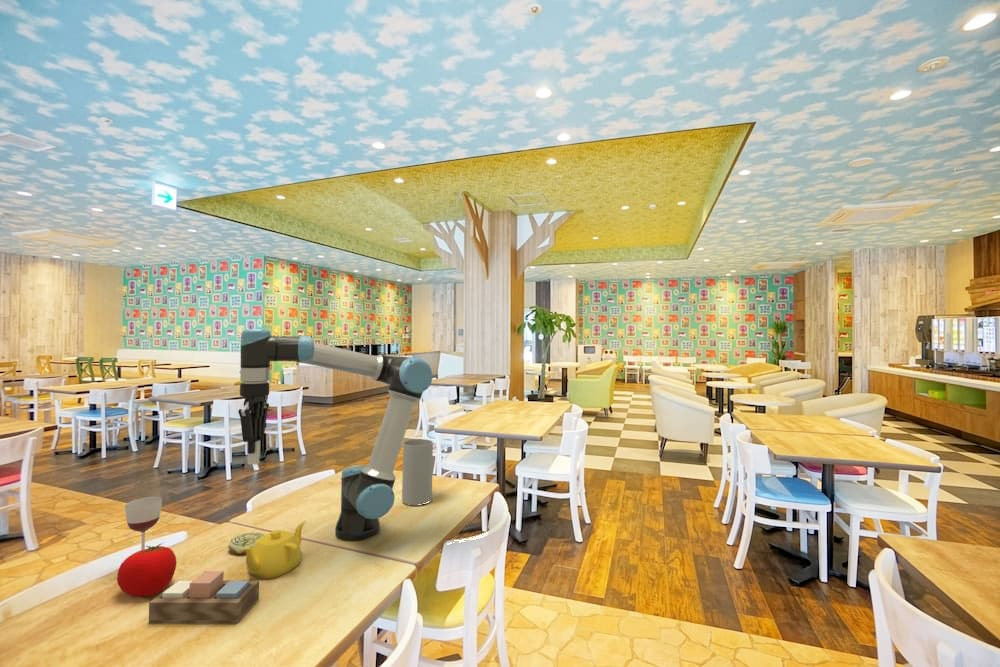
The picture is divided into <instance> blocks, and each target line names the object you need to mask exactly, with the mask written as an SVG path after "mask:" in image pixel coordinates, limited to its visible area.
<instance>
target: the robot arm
mask: <svg viewBox="0 0 1000 667" xmlns="http://www.w3.org/2000/svg"><path fill="white" fill-rule="evenodd" d="M271 362H295V363H300V364H307V365H311V366H315V367H316V366H317V367H321V368H325V369H329V370H330V369H332V370H336V371H340V372H346V373H349V374H355V375H359V376H360V375H361V376H366V377H370V378H371V379H372V380H373V381H376V382H380V383H383V384H386V385H388V389H387V392H388V394H389V396H390V398H389V400H388V403H387V407H386V410H385V413H384V416H383V419H382V422H381V424H380V428H379V431H378V433H377V437H376V439H375V443H374V446H373V448H372V452H371V454H370V458H369V462H368V465H367V464H366V465H356V466H355V465H354V466H350V467H346V468H344V469H343V470H342V472H341V477H340V480H341V481H340V482H341V483H340V484H341V488H340V489H341V490H340V491H341V494H340V496H341V497H340V502H341V503H340V513H339V516H338V519H337V523H336V525H335V529H334V530H335V532H334V534H335V537H336V538H337V539H339V540H342V541H346V542H347V541H348V542H356V541H363V540H367V539H370V538H373V537H374V536H375V535H377V534H378V533H380V530H381V526H380V525H381V523H380V520H379V519H380V518H382V517H384V516H385V515H387V514H388V513H389V512H390V511H391V509H392V508H393V505H394V502H395V493H394V484H395V481H396V476H395V474H394V469H395V467H396V464H397V460H398V456H399V453H400V451H401V448H402V446H403V442H404V438H405V435H406V431H407V428H408V425H409V423H410V419H411V417H412V413H413V409H414V406H415V404H416V403H418V402H420V401H421V400H422V396H423V393H424V392H425V391H426V390H428V388H429V387H431V384H432V382H433V371H432V368H431V366H430V364H428V362H426V361H425V360H423V359H421V358H419V357H414V356H411V357H410V356H392V355H384V354H378V355H373V354H372V355H371V354H367V353H362V352H358V351H353V350H350V349H344V348H341V347H336V346H331V345H327V344H322V343H317V342H315V341H314V339H313V338H312V337H311V336H303V335H301V336H297V335H295V336H290V335H289V336H288V335H283V336H282V335H281V336H275V335H272V334H271V330H270V329H261V328H259V329H258V328H255V329H254V328H245V329H244V330H242V332H241V337H240V370H239V374H240V378H239V380H240V382H242V383H240V385H239V395H240V397H243V398H244V402H243V408H239V409H238V415H239V418H240V420H239V421H240V426H241V436H242V442H244V443H247V453H246V454H247V457H246V458H247V459H246V461H247V462H246V463H247V464H246V465H259V464H260V454H261V453H260V449H261V448H260V447H261V444H260V443H261V441H263V440H264V439H265V438H264V437H265V432H266V425H267V424H266V423H267V417H268V411H269V407H270V403H267V402H265V401H266V399H265V397H266V396H269V395H270V383H269V381H270V380H271V379H270V378H271V376H270V374H271V373H270V372H271V367H270V365H271Z"/></svg>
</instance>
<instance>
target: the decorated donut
mask: <svg viewBox="0 0 1000 667" xmlns="http://www.w3.org/2000/svg"><path fill="white" fill-rule="evenodd" d="M264 535H265V534H263V533H260V532H247V533H243V534H239V535H237V536H235V537H232V538H231V539H230V540H229V542H228V549H229V551H230V552H231V554H234V555H243V556H244V555H245V556H246V552H245V551H244V550H241V549H242V548H246V547H249V548H251V549H252V547H253V544H254V542H255V541H256V540H257V539H258V538H260V537H262V536H264Z"/></svg>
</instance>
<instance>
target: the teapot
mask: <svg viewBox="0 0 1000 667" xmlns="http://www.w3.org/2000/svg"><path fill="white" fill-rule="evenodd" d="M306 522H307V520H303V521H301V522H300V523H299V524H297V526H296V529H295V532H294V533H293V532H290V531H286V530H282V529H281V530H278V529H276V530H273V531H270V532H269V533H266V534H263V535H264V536H262V537H260V538H258V539H257V540H256V541H255V542H254V544H253V547H252V549H251V548H249V547H246V548H242V549H241V550H244V551H245V552H246V555H245V558H246V559H245V562H246V569H247V570H248V572H249V573H250V575H252V576H253V577H257V578H260V579H263V580H265V579H266V580H270V579H274V578H277V577H280V576H283V575H285V574H286V573H288V572H290V571H292V570H293V569H295V568H296V567H297V566H298V565H299V563H300V562H301V559H302V548H301V546H300V545H301V542H302V529H303V526H304V525H305V524H306Z"/></svg>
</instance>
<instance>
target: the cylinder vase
mask: <svg viewBox="0 0 1000 667" xmlns="http://www.w3.org/2000/svg"><path fill="white" fill-rule="evenodd" d="M433 446H434V441H433V440H431V439H425V438H424V439H423V438H418V439H417V438H416V439H408V440H405V441H404V440H403V442H402V480H401V481H402V483H401V484H402V488H401V501H402V503H403V504H404V503H405V504H404V505H406V504H409V505H408V506H410V505H418V504H423V503H426V502H428V501H430V500H431V499H432V500H433V459H434V456H433V454H434V453H433V451H434V450H433V449H434V447H433ZM432 500H431V501H432Z"/></svg>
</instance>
